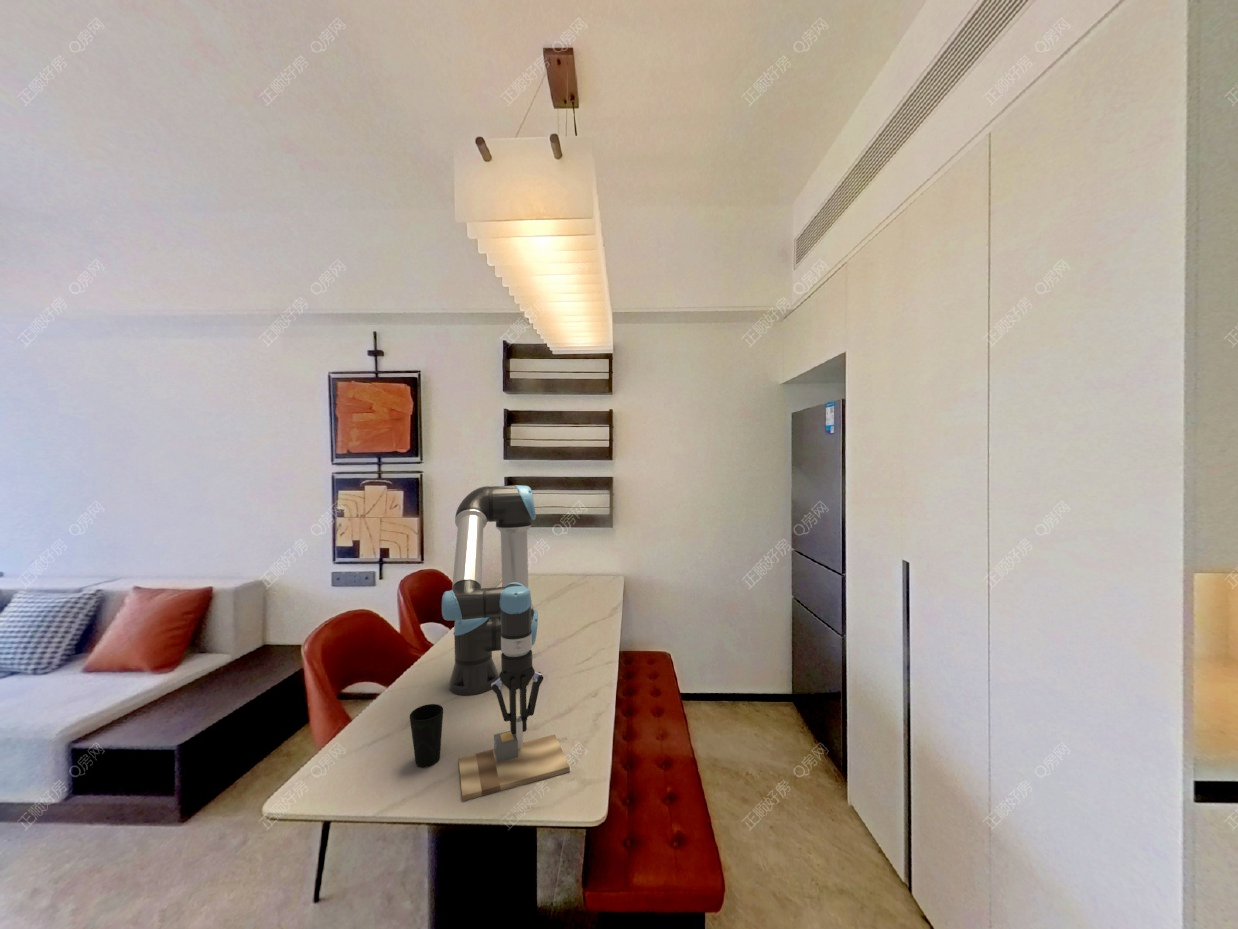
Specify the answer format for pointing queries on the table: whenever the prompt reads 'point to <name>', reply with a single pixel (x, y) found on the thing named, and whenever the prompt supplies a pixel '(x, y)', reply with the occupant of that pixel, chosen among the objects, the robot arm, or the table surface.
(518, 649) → the robot arm
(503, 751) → the grey block
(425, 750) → the cup
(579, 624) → the table surface
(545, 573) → the table surface
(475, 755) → the panel
